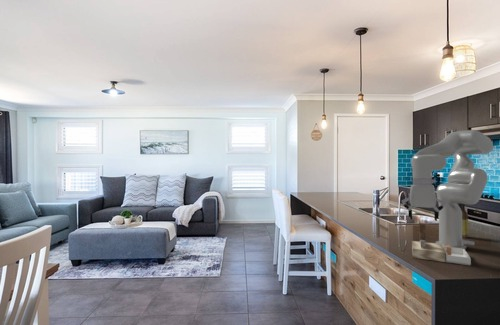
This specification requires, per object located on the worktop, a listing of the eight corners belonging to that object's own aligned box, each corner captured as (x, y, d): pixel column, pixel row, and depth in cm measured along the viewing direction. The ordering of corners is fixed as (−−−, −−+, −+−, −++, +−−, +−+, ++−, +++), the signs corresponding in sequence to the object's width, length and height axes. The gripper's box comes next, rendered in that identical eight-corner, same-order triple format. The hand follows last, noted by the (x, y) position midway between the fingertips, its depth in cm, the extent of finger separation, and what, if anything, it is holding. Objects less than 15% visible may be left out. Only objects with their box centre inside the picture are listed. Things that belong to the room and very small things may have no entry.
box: (464, 255, 126) (464, 249, 126) (470, 265, 114) (470, 258, 114) (442, 252, 130) (442, 246, 130) (446, 262, 118) (446, 255, 118)
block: (445, 254, 126) (449, 255, 125) (447, 257, 122) (451, 258, 121) (445, 244, 126) (449, 245, 125) (447, 247, 122) (451, 247, 121)
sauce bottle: (462, 235, 162) (462, 200, 162) (471, 238, 155) (471, 202, 155) (451, 235, 161) (451, 200, 161) (460, 238, 155) (459, 202, 155)
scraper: (424, 243, 132) (424, 222, 132) (426, 248, 124) (426, 226, 124) (419, 242, 133) (418, 221, 133) (419, 247, 125) (419, 225, 125)
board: (441, 252, 130) (441, 244, 130) (445, 262, 118) (445, 252, 118) (411, 249, 136) (411, 240, 136) (412, 257, 124) (412, 248, 124)
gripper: (444, 181, 127) (445, 219, 128) (400, 181, 136) (401, 216, 136) (446, 183, 121) (447, 222, 121) (400, 182, 129) (401, 219, 130)
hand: (423, 219), depth 129 cm, fingers open, 9 cm apart
